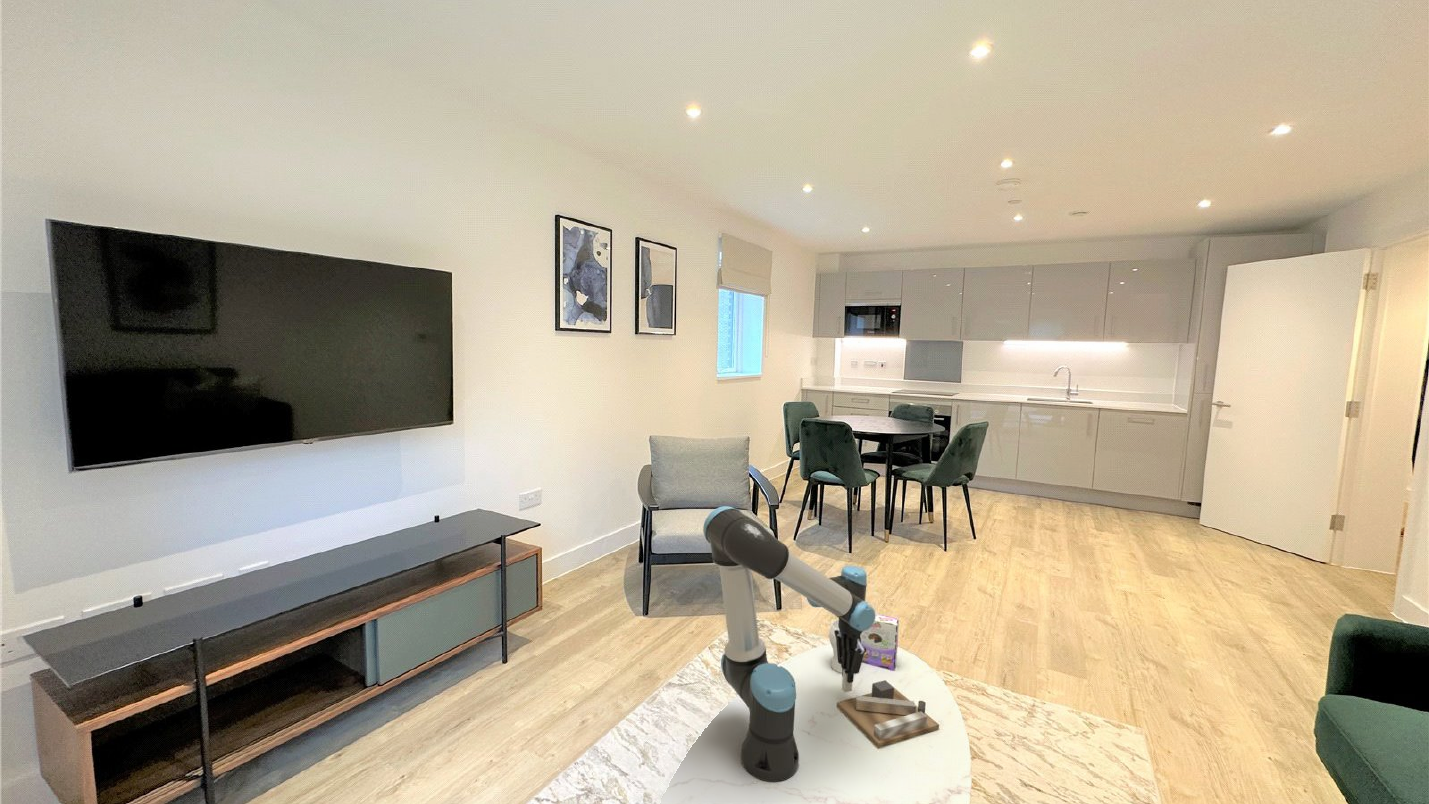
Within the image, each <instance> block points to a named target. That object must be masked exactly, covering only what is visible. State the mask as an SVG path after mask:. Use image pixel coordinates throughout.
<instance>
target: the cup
mask: <svg viewBox="0 0 1429 804" xmlns="http://www.w3.org/2000/svg"><path fill="white" fill-rule="evenodd" d="M838 623H839V618H838V619H837V618H836V619H833V620H832V622H831V623H830V627H829V631H828V632H829V633H828V638H829V641H830V645H831V647H832V650H833V651H832V653H833V656H832V660H831V667H832V669H833V670H834V671H836V672H837V673H840V674H842V667H841V664H839V663H838V656H837V644H836V636H835V632H834V631H835V630H840V629H839V627H838ZM860 637H861V635H860ZM841 659H842V658H841Z"/></svg>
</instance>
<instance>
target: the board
mask: <svg viewBox="0 0 1429 804" xmlns="http://www.w3.org/2000/svg"><path fill="white" fill-rule="evenodd" d="M861 696H866V697H872V692H870V693H867V694H863V695H861ZM855 699H856V696H855V697H852V698H848V699H844V700H840V701H836V708H837V709H838V710H839V711H840V712H841V713H842V714H843V715H844V716H845V717H846V718H847V719H848V720H849V722H851V723H852V724H853V725H854V726H855V727H856V728H857V729H858V730H859V731H860V732H861V733H862V734H863V735H864V736H865V737H866V739H868V740H869V741H870V742H871V743H872V744H873V745H874V746H875V748H877V749H878V750H879V749H882V748H885V747H888V746H892V745H894V744H897V743H901V742H905V741H907V740H910V739H914V738H916V737H919V736H923V735H925V734H926V735H927V734H928V733H932V732H936V731H938V730H940V724H939V723H938V722H937V721H936V720H934V719H933V718H932V717H930V715H928V714H927V713H926V707H927V706H926V702H925V701H923V700H919V701H918V705H916V712H915V713H913V714H910V715H900V714H890V713H881V712H872V711H862V710H856V706H855ZM893 699H895V700H905V701H911V700H910V699H908V697H906V695H904V694H903V693H901V692H900V691H899V690H898V689H897V688H895V687H894V696H893Z"/></svg>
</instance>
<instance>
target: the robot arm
mask: <svg viewBox="0 0 1429 804" xmlns="http://www.w3.org/2000/svg"><path fill="white" fill-rule="evenodd" d="M702 528H703V529H702V532H703V535H704V537H705V540H706V541H707V542H708V544H710V550H711V551H710V552H711V557H712V562H713V564H715V566H716V567H719V576H720V583H721V592H722V598H723V606H724V614H725V622H726V629H727V636H728V637H727V639H728V641H727V643H726V644H725V646H724V653H723V654H722V655H721V659H720V660H721V661H720V667H721V672H722V674H723V676H724V679H725V681H726V682H727V683H728V685H730V687H731V688H732V689H733V690H734V692H736V694H737V695H738V696H739V698H740V699H741V700H742V702H743V703H744V704H745V705H746V707H747V708H748V711H749V719H748V722H749V723H748V730H747V732H746V735H745V738H744V741H743V743H742V744H741V749H740V750H741V751H740V761H741V764H742V766H743V768H744V769H745V770H746V771H747V772H748V773H749V774H750V775H751V776H753V777H755V778H757V779H759V778H760V779H759V780H762V781H765V782H781V781H785V780H787V779H790V778H791V777H792V776H794V775H795V774H796V773H797V771H798V769H799V762H800V755H799V754H800V753H799V750H798V747H797V743H796V739H795V735H794V730H795V729H794V728H795V715H796V714H795V710H796V700H797V690H796V689H797V687H796V686H797V685H796V682H795V679H794V677H793V675H792V673H791V672H790V671H789V670H788V669H786V668H785V667H783V666H778V664H776V663H771V662H770V663H769V661H768V659H767V658H768V655H767V647H766V643H765V641H764V640H763V639H762V638H760V637H759V636H760V634H759V627H758V619H757V610H756V602H755V601H756V599H755V592H754V584H753V583H754V582H753V575H752V572H755V573H757V574H759V575H760V576H761V577H764V578H765V579H767V580H777V581H778V582H780V583H781V584H783V585H784V586H786V587H788V588H790V589H791V590H793V591H794V592H796V593H798V594H799V595H801V596H803V597H805V598H806V600H807V602H808V603H809V605H810V606H811V607H813V608H822V609H825V610H826V611H828V612H829V613H830V614H832V615H834V616H835V617H837V618H838V619H839V623H838V627H839V629H840V630H835V631H834V632H835V636H836V644H837V656H838V663H839V664H841V667H842V673H841V679H842V680H841V690H842V691H843V692H844V693H847V692H852V691H853V683H854V675H856V674H859V673H860V670H861V666H862V663H863V662H862V659H863V655H864V653H865V652H866V648H865V647H862V645H861V637H860V635H861V633H862V632H863V631H866V630H868V629H869V628H870V627H871V626H872V624H873V622H874V621H875V614H876V610H875V608H874V607H873V606H872V605H870V604H869V603H868V602H867V601H866V596H867V595H866V594H867V586H868V585H867V584H868V583H867V582H868V581H867V580H868V579H867V577H868V576H867V572H866V570H865V569H863V568H862V567H860V566H858V565H857V566H856V565H845V566H844V567H842V568H841V572H840V575H837V576H833V577H832V576H831V577H828V576H826V575H825V574H823V573H822V572H820V571H819V570H817V569H816V568H814V567H813V566H811V565H810V564H808V563H806V562H805V561H804V560H803V559H800V558H799V557H797V556H796V555H794V554H793V553H791V552H790V550H789V547H788V546H787V545H786V544H784V543H783V542H782V541H780V540H779V539H778V538H776V537H775V536H774V535H773V534H772V533H771V532H769V531H768V529H766V528H765V527H764V526H763V525H761V523H759V522H758V521H756V520H755V519H753V518H751V517H749V516H748V515H746V514H744V513H743V512H742V511H741V510H740V509H738V508H734V507H732V506H728V505H726V506H725V505H723V506H720V507H717V508H715V509H713V510H712V511H711V512H710V513H709V515H707V517H706V518H705V521H704V522H703V527H702ZM841 658H842V659H841Z"/></svg>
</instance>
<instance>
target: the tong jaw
mask: <svg viewBox="0 0 1429 804" xmlns="http://www.w3.org/2000/svg"><path fill="white" fill-rule="evenodd" d="M855 697H856V699H855V706H856V710H862V711H872V712H881V713H890V714H900V715H910V714H913V713H915V712H916V706H917V705H916V703H915V701H914V700H910V701H905V700H895V699H886V698H876V697H866V696H862V695H855Z"/></svg>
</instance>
